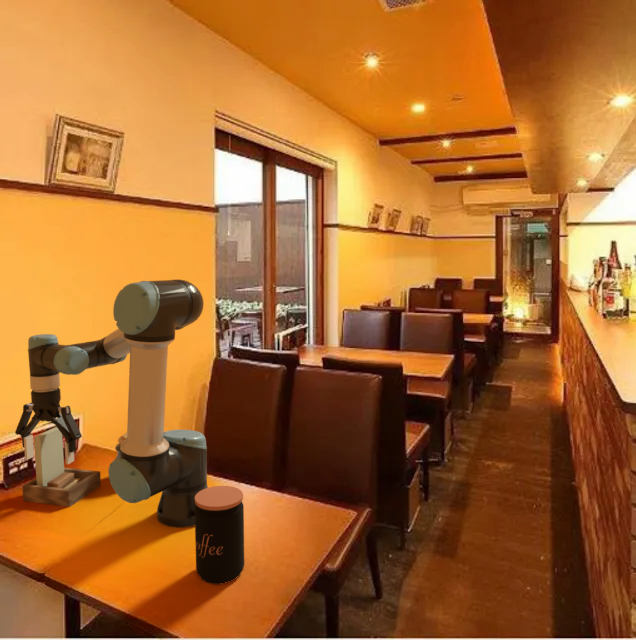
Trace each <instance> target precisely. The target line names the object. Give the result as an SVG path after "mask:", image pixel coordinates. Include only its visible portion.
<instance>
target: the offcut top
mask: <svg viewBox="0 0 636 640" xmlns="http://www.w3.org/2000/svg"><path fill="white" fill-rule="evenodd" d="M73 482H74V473H67V472H63V473H62V474H60V475H58V476H57V477H55V478H54V479H52V480H51V481H49V482H48V483H47V487H56V488H65V487H67V486H68V485H70V484H71V483H73Z"/></svg>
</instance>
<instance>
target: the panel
mask: <svg viewBox="0 0 636 640" xmlns="http://www.w3.org/2000/svg"><path fill="white" fill-rule="evenodd" d="M63 444H64V443H63V435H62V433H61V432H60V431H59V429H58V428H57V427H56V426H55V427H53V428H50V429H48V430H46V431H43V432H42V433H39V434H38V435H36V436H33V447H34V460H35V474H36V476H35V478H36V479H37V485H39V486H47V483H48V482H49V481H51V480H52V479H54V478H55V477H57V476H58V475H60V474H62V473H63V472H64V468H65V462H64V445H63Z"/></svg>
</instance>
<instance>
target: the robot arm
mask: <svg viewBox="0 0 636 640" xmlns="http://www.w3.org/2000/svg"><path fill="white" fill-rule="evenodd" d="M112 310H113V313H112V314H113V318H114V321H115V322H116V324H115V326H116V327H117V329H115V330H114V331H113V332H111V333H109V334H107V335H106V336H104V337H103V338H101V339H98V340H97V339H96V340H92V341H86V342H78V343H73V344H59V340H58V336H56V334H52V333H51V334H49V333H46V334H45V333H42V334H35V335H31V336H30V337H28V344H27V345H28V346H27V347H28V349H27V351H28V352H27V354H28V364H29V365H28V366H29V383H30V389H31V392H30V400H31V402H28V403H26V404H23V406H22V414H21V416H20V418H19V422H18V424H17V426H16V429H15V431H14V434H15V435H19V436H20V437H21V439H22V445H21V446H22V448H24V460H27V461H28V460H30V459H32V458H35V448H34V435H33V434H32V432H33V431H34V429H35V428H36V427H37V425H38V424H39V423H40V422H47V423H52V424H53V425H55V427H57V428H58V429H59V431H60V432H61V433H62V437H63V438H65V440H66V441H64V455H65V465H70V464H72V463H73V462H75V451H76V450H77V447H76V444H77V443H76V441H77V440H79V439H81V438H82V433H81V431H80V429H79V427H78V425H77V423H76V420H75V419H74V416H73V414H72V411H71V406H70V405H67V406H61V405H60V404H61V400H62V399H61V397H62V395H61V389H60V388H59V387H60V385H61V382H60V374H63V375H68V376H69V375H73V376H78V375H80V374H82V373H83V372H85V370H88V369H92V368H97V367H103V366H107V365H115V364H117V363H120V362H123V361H125V360H126V358H127V356H128V355H129V368H128V369H129V376H128V396H127V398H128V400H127V402H128V403H127V422H126V423H127V424H126V426H127V431H126V433H127V439H125V440H124V441H123V442H122V443H121V445H120V457H119V458H116V457H115V458H114V459H113V460H112V461H111V463H109V466H108V478H109V483H110V485H111V487H112V489H113V490H114V492H115V493H116V495H117V496H118V497H119V498H120V499H122V501H124V502H126V503H129V504H136V503H137V504H138V503H140V502H142V501H146V500H149V499H150V498H151V497H153V496H155V495H157V494H160V493H161V495H160V499H159V502H158V504H157V508H156V515H157V516H156V518H157V521H158V522H159V523H160V524H162V525H164V526H167V527H171V528H186V527H187V528H189V527H193V526H194V527H195V506H196V504H195V496H196V494H197V493H198V492H199V491H201V490H203V489H206V488H209V486H208V459H207V458H208V456H207V455H208V453H207V451H208V446H207V440H206V437H205V434H203V433H202V432H199V431H198V430H192V429H172V430H171V429H170V430H166V431H165V412H166V411H165V410H166V393H167V372H168V370H167V368H168V353H169V352H168V351H169V349H168V348H169V345H170V344H171V343H173V342H174V341H175V340H176V331H178V330H182V329H184V328H185V327H188V326H190V325H192V324H193V323H195V322H196V321H197V320H198V319H199V318H200V317H201V315H202V313H203V310H204V297H203V294H202V293H201V291H200V289H199V288H198V287H197V285H194V284H193V283H191V282H190V281H188V280H183V279H169V280H168V279H167V280H141V281H138V282H130V283H127V285H125V286H123V288H122V289H120V291H118V293H117V296H116V297H115V300H114V303H113V309H112ZM33 412H34V414H33ZM32 414H33V416H32ZM31 416H32V417H31Z"/></svg>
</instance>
